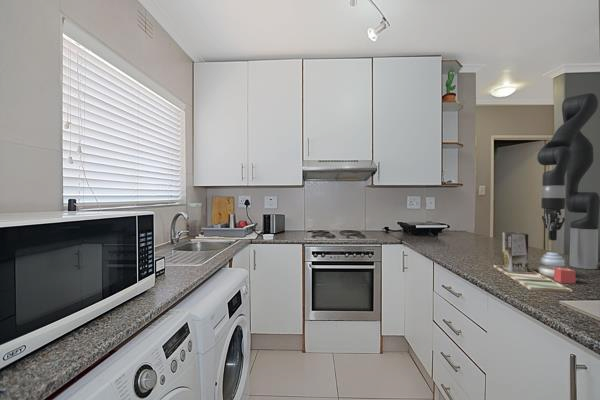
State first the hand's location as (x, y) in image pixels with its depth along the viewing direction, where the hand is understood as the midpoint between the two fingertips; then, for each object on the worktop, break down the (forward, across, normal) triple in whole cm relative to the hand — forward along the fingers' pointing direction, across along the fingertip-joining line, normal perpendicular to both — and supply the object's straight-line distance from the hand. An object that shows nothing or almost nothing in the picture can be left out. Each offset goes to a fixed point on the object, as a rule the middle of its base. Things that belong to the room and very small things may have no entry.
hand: (552, 240), depth 128 cm
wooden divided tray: (+14, -8, +12) cm, 20 cm away
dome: (+10, 0, 0) cm, 10 cm away
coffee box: (+14, +4, +12) cm, 19 cm away
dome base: (+14, 0, 0) cm, 14 cm away
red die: (+14, -11, +1) cm, 18 cm away
